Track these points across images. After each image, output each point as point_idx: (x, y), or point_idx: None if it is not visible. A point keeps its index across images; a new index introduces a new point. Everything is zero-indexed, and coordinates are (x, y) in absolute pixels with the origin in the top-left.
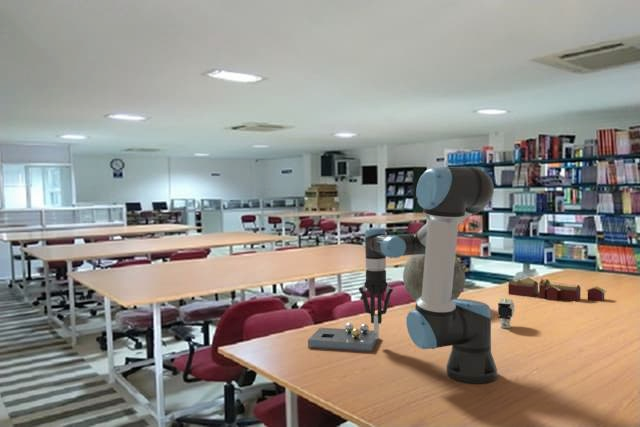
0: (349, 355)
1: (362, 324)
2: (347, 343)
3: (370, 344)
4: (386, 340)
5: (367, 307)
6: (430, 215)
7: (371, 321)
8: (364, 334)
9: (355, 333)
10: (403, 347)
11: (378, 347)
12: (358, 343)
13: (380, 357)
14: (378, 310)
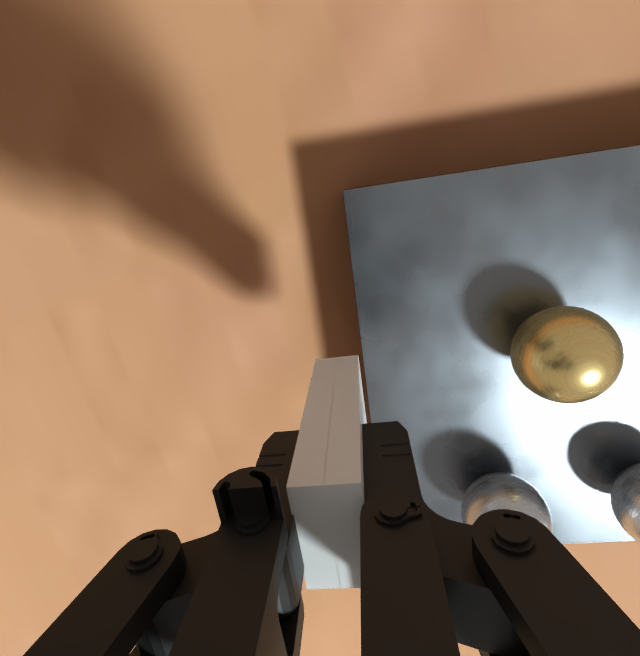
0: (515, 13)
1: None
2: (597, 152)
3: (352, 189)
4: None
5: (556, 637)
6: None
7: (400, 434)
8: (479, 440)
9: (563, 312)
10: (158, 375)
11: (325, 321)
12: (477, 170)
13: (230, 74)
14: (249, 582)
